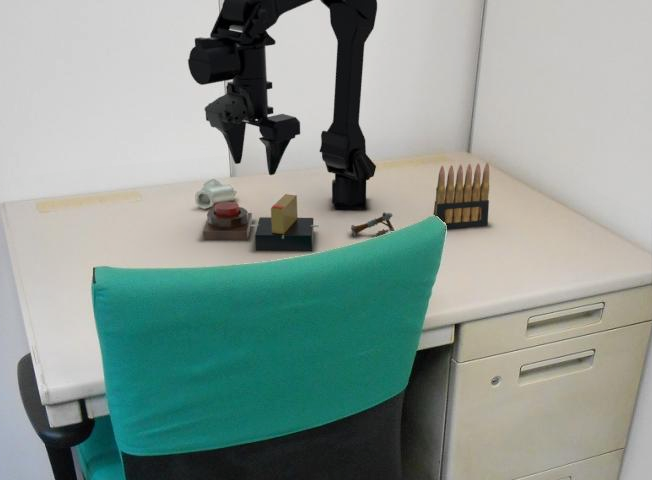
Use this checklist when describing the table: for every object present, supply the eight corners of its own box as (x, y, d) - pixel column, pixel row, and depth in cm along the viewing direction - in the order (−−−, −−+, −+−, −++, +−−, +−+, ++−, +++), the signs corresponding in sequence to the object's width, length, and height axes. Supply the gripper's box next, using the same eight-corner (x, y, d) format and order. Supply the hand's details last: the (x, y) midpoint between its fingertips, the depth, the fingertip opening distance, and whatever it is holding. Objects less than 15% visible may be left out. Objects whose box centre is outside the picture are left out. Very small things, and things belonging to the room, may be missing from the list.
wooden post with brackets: (399, 233, 154) (390, 211, 152) (359, 248, 156) (350, 227, 154) (400, 230, 156) (390, 208, 154) (360, 245, 158) (351, 224, 156)
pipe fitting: (237, 199, 173) (205, 195, 173) (238, 181, 171) (205, 177, 171) (228, 212, 166) (195, 208, 166) (228, 193, 164) (195, 189, 164)
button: (240, 210, 157) (240, 201, 156) (238, 218, 154) (237, 209, 153) (217, 210, 157) (216, 201, 156) (214, 218, 153) (213, 209, 153)
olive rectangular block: (286, 217, 155) (285, 192, 152) (297, 218, 154) (296, 193, 152) (271, 232, 148) (270, 207, 145) (283, 234, 148) (282, 208, 145)
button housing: (252, 221, 161) (251, 203, 159) (247, 240, 153) (246, 222, 151) (210, 220, 161) (209, 203, 159) (203, 240, 153) (201, 221, 151)
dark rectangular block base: (319, 230, 158) (319, 213, 156) (318, 254, 148) (317, 237, 146) (255, 229, 158) (254, 213, 156) (248, 254, 147) (247, 237, 146)
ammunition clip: (484, 222, 163) (490, 161, 156) (487, 226, 161) (493, 164, 155) (432, 226, 160) (435, 164, 154) (435, 230, 159) (439, 167, 152)
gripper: (176, 74, 140) (185, 167, 148) (249, 92, 129) (254, 191, 138) (228, 65, 147) (234, 154, 155) (301, 82, 136) (303, 176, 145)
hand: (254, 168), depth 148 cm, fingers open, 9 cm apart
